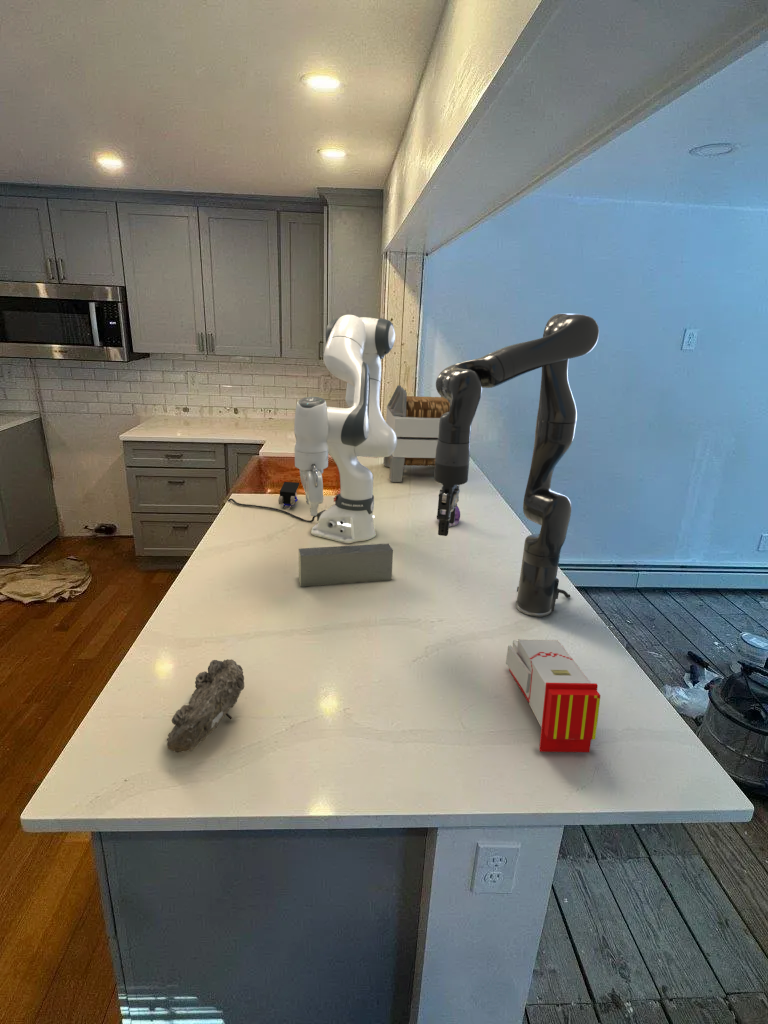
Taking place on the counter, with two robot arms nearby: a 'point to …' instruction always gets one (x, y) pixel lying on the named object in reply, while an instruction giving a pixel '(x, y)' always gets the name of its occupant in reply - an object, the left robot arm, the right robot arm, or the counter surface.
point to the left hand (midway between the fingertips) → (311, 509)
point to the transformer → (413, 430)
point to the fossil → (206, 705)
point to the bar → (345, 564)
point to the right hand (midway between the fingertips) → (446, 528)
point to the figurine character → (288, 494)
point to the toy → (556, 694)
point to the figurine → (457, 516)
